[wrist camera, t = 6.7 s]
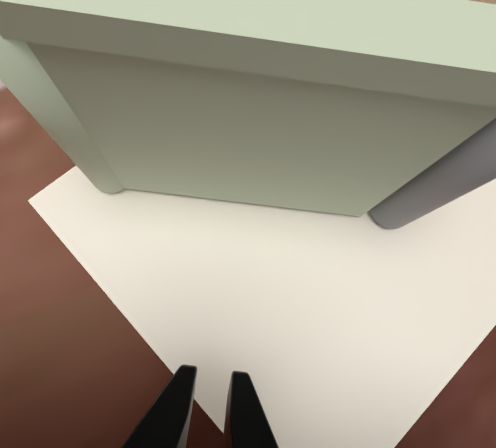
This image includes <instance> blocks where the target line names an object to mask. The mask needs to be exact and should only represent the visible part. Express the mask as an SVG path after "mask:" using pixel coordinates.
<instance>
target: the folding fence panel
mask: <svg viewBox="0 0 496 448" xmlns="http://www.w3.org/2000/svg"><path fill="white" fill-rule="evenodd" d="M0 80H1V81H2V82H3V83H4V84H5V85H6V87H7V88H8V89H9V90H10V91H11V92H12V93H13V94H14V96H15V97H16V98H17V99H18V100H19V101H20V102H21V103H22V105H23V106H24V107H25V108H26V109H27V110H28V111H29V113H30V114H31V115H32V116H33V117H34V118H35V119H36V120H37V122H38V123H39V124H40V125H41V126H42V127H43V128H44V129H45V131H46V132H47V133H48V134H49V135H50V136H51V137H52V139H53V140H54V141H55V142H56V143H57V144H58V145H59V146H60V148H61V149H62V150H63V151H64V152H65V153H66V154H67V155H68V157H69V158H70V159H71V160H72V161H73V162H74V163H75V165H76V166H77V167H78V168H79V169H80V170H81V171H82V172H83V174H84V175H85V176H86V177H87V178H88V179H89V180H90V181H91V183H92V184H93V185H94V186H95V187H96V188H97V189H98V190H100V191H102V192H105V193H116V192H119V191H121V190H123V189H124V188H126V189H134V190H142V191H151V192H159V193H167V194H176V195H184V196H192V197H201V198H209V199H217V200H226V201H234V202H242V203H251V204H259V205H268V206H276V207H284V208H293V209H301V210H309V211H318V212H326V213H334V214H343V215H351V216H359V217H361V216H362V215H363V214H365V213H366V212H367V211H369V210H370V212H371V215H372V217H373V218H374V220H375V221H376V222H377V223H378V224H380V225H381V226H383V227H385V228H389V229H397V228H400V227H403V226H405V225H406V224H408V223H410V222H412V221H414V220H416V219H418V218H420V217H422V216H424V215H426V214H428V213H430V212H432V211H434V210H436V209H438V208H440V207H442V206H444V205H445V204H447V203H449V202H451V201H453V200H455V199H457V198H459V197H461V196H463V195H465V194H467V193H469V192H471V191H473V190H475V189H477V188H479V187H481V186H483V185H484V184H486V183H488V182H490V181H492V180H494V179H496V4H489V3H483V2H476V1H470V0H0Z"/></svg>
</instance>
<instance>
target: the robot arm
mask: <svg viewBox="0 0 496 448" xmlns="http://www.w3.org/2000/svg"><path fill="white" fill-rule="evenodd" d="M196 377H197V367H196V366H193V365H185V364H183V365H181V366H180V367H179V368H178V369H177V371H176V372H175V374H174V375H173V376H172V378H171V379H170V380H169V382H168V383H167V385H166V386H165V387H164V389H163V390H162V391H161V393H160V394H159V396H158V397H157V398H156V400H155V401H154V403H153V404H152V405H151V407H150V408H149V409H148V411H147V412H146V414H145V415H144V416H143V418H142V419H141V420H140V422H139V423H138V425H137V426H136V427H135V429H134V430H133V432H132V433H131V434H130V436H129V437H128V438H127V440H126V441H125V443H124V444H123V445H122V447H121V448H186V443H187V437H188V431H189V425H190V418H191V412H192V406H193V400H194V393H195V386H196ZM222 448H279V447H278V444H277V442H276V439H275V437H274V434H273V432H272V429H271V427H270V424H269V422H268V419H267V417H266V414H265V412H264V410H263V407H262V405H261V402H260V400H259V397H258V395H257V392H256V390H255V387H254V385H253V382H252V380H251V377H250V375H249V374H248V373H247V372H242V371H233V372H232V374H231V379H230V384H229V390H228V395H227V404H226V413H225V423H224V433H223V442H222Z"/></svg>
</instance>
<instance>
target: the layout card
mask: <svg viewBox="0 0 496 448" xmlns="http://www.w3.org/2000/svg"><path fill="white" fill-rule="evenodd" d="M28 201H29V203H30V204H31V205H32V206H33V207H34V209H35V210H36V211H37V212H38V213H39V215H40V216H41V217H42V218H43V219H44V220H45V222H46V223H47V224H48V225H49V226H50V228H51V229H52V230H53V231H54V232H55V234H56V235H57V236H58V237H59V238H60V240H61V241H62V242H63V243H64V244H65V246H66V247H67V248H68V249H69V250H70V251H71V253H72V254H73V255H74V256H75V257H76V259H77V260H78V261H79V262H80V263H81V265H82V266H83V267H84V268H85V269H86V271H87V272H88V273H89V274H90V275H91V276H92V278H93V279H94V280H95V281H96V282H97V284H98V285H99V286H100V287H101V288H102V290H103V291H104V292H105V293H106V294H107V296H108V297H109V298H110V299H111V300H112V301H113V303H114V304H115V305H116V306H117V307H118V309H119V310H120V311H121V312H122V313H123V315H124V316H125V317H126V318H127V319H128V321H129V322H130V323H131V324H132V325H133V327H134V328H135V329H136V330H137V331H138V332H139V334H140V335H141V336H142V337H143V338H144V340H145V341H146V342H147V343H148V344H149V346H150V347H151V348H152V349H153V350H154V352H155V353H156V354H157V355H158V356H159V357H160V359H161V360H162V361H163V362H164V363H165V365H166V366H167V367H168V368H169V369H170V371H171V372H172V373H173V374H175V372H176V371H177V369H178V368H179V367H180V366H181V365H183V364H185V365H193V366H196V367H197V377H196V386H195V393H194V399H195V400H196V402H197V403H198V404H199V405H200V406H201V408H202V409H203V410H204V411H205V412H206V413H207V415H208V416H209V417H210V418H211V419H212V421H213V422H214V423H215V424H216V425H217V427H218V428H219V429H220V430H221V431H222V433H224V423H225V413H226V404H227V395H228V390H229V384H230V379H231V374H232V372H233V371H242V372H247V373H248V374H249V375H250V377H251V380H252V382H253V385H254V387H255V390H256V392H257V395H258V397H259V400H260V402H261V405H262V407H263V410H264V412H265V414H266V417H267V419H268V422H269V424H270V427H271V429H272V432H273V434H274V437H275V439H276V442H277V444H278V447H279V448H394V447H395V446H396V445H397V444H398V442H399V441H400V440H401V439H402V438H403V436H404V435H405V434H406V433H407V432H408V430H409V429H410V428H411V427H412V425H413V424H414V423H415V422H416V421H417V419H418V418H419V417H420V416H421V415H422V413H423V412H424V411H425V410H426V409H427V407H428V406H429V405H430V404H431V402H432V401H433V400H434V399H435V398H436V396H437V395H438V394H439V393H440V392H441V390H442V389H443V388H444V387H445V386H446V384H447V383H448V382H449V381H450V379H451V378H452V377H453V376H454V375H455V373H456V372H457V371H458V370H459V369H460V367H461V366H462V365H463V364H464V362H465V361H466V360H467V359H468V358H469V356H470V355H471V354H472V353H473V352H474V350H475V349H476V348H477V347H478V346H479V344H480V343H481V342H482V341H483V339H484V338H485V337H486V336H487V335H488V333H489V332H490V331H491V330H492V329H493V327H494V326H495V325H496V179H494V180H492V181H490V182H488V183H486V184H484V185H483V186H481V187H479V188H477V189H475V190H473V191H471V192H469V193H467V194H465V195H463V196H461V197H459V198H457V199H455V200H453V201H451V202H449V203H447V204H445V205H444V206H442V207H440V208H438V209H436V210H434V211H432V212H430V213H428V214H426V215H424V216H422V217H420V218H418V219H416V220H414V221H412V222H410V223H408V224H406V225H405V226H403V227H400V228H397V229H389V228H385V227H383V226H381V225H380V224H378V223H377V222H376V221H375V220H374V218H373V217H372V215H371V212H370V210H369V211H367V212H366V213H365V214H363V215H362V216H361V217H359V216H351V215H343V214H334V213H326V212H318V211H309V210H301V209H293V208H284V207H276V206H268V205H259V204H251V203H242V202H234V201H226V200H217V199H209V198H201V197H192V196H184V195H176V194H167V193H159V192H151V191H142V190H134V189H126V188H124V189H123V190H121V191H119V192H116V193H105V192H102V191H100V190H98V189H97V188H96V187H95V186H94V185H93V184H92V183H91V181H90V180H89V179H88V178H87V177H86V176H85V175H84V174H83V172H82V171H81V170H80V169H79V168H78V167H77V166H75V167H73V168H72V169H71V170H69V171H68V172H66V173H65V174H64V175H62V176H61V177H60V178H58V179H57V180H55V181H54V182H53V183H51V184H50V185H49V186H47V187H46V188H44V189H43V190H42V191H40V192H39V193H38V194H36V195H35V196H33V197H32V198H31V199H29V200H28Z"/></svg>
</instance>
